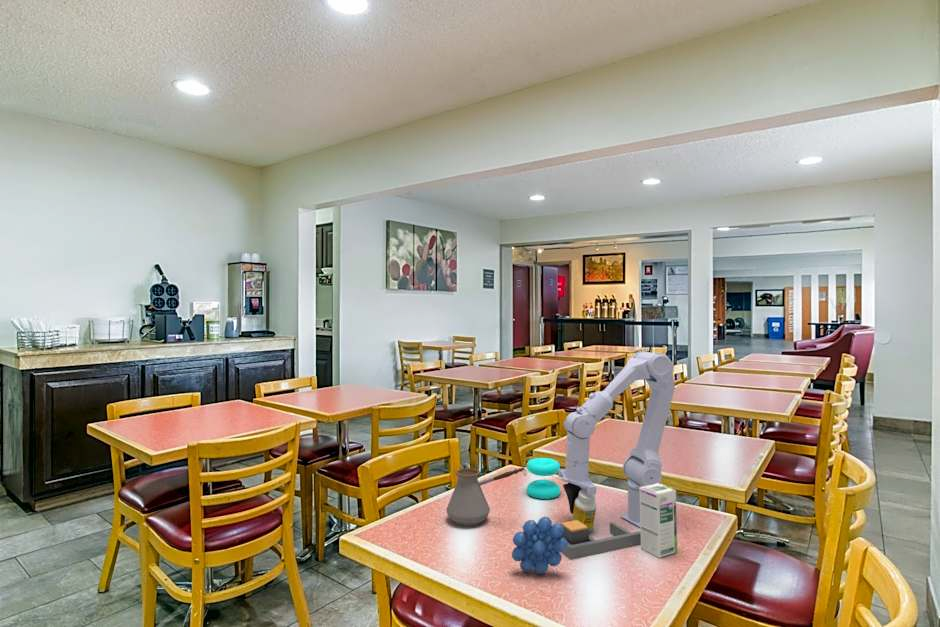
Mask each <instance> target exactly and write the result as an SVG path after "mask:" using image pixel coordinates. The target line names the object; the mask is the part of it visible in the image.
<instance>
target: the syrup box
mask: <svg viewBox="0 0 940 627" xmlns="http://www.w3.org/2000/svg"><path fill="white" fill-rule="evenodd" d="M639 489H640V527H639V528H640V530H639V531H640V533H641V544H640V548H641V549H642V550H643V551H644V552H647V553H648V554H651V555H653V557H656V558H658V559H661V558H662V557H666V556H669V555H673V554H677V553H678V530H677V529H678V528H677V527H678V526H677V525H678V524H677V521H678V520H677V490H676V489H675V488H673V487H671V486H668V485H665V484H663V483H660V484H658V483H656V484H653V485H648V486H644V487H640V488H639Z"/></svg>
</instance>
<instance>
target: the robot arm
mask: <svg viewBox="0 0 940 627" xmlns="http://www.w3.org/2000/svg"><path fill="white" fill-rule="evenodd" d="M674 369H675V364H674V363H673V361H672V360H671V359H670V358H669V356H667V355H666V354H665V353H661V352H659V353H656V352H651V351H646V350H640V351H637V352H636V353H635V354H634V355H633V356H632V357H631V358H629V359H628V361H627V362H626V364H625V366H624V367H623V368H622V369H621V371H620V372H619V373H617V374H616V376H615V377H614V378H613V379H612V381H610V383H609V384H608V385H607V386H606V387H605V388H604V389H603V390H601V391H599V390H598V391H595V392H591V393H590V394H589V395H588V399H587V400H585V402H583V403H582V404H581V405H580V406H578V407H577V408H576V409H575V410H576V411H574V412H573V411H572V412H570V413H569V414H568V415H567V416H566V417H565V420H564V421H563V427H564V429H565V431H566V452H565V454H566V455H565V468H560V469H559V470H558V472H557V476H558V477H559V478H561V481H562V482H564V484H563V485H562V486H563V489H564V491H565V494H566V496H567V500H568V504H569V513H570V514H571V515H573V511H574V503H575V499H576V498H577V497H578V495H579V491H580V490H581V489H583V490H585V491H586V492H587V494H589V495H593V494H595V495H597V485H595V484H594V483H593V481H591V479H590V478H589V463H590V444H591V443H590V439H591V438H590V436H592V435H593V434H594V432H595V430H596V429H595V428H596V425H597V424H598V423H599V422H600V421H601V420H602V419H603V417H605V416H606V415H607V414H608V412H610V411H611V410H612V409H613V408H614V407H613V406H614V400H615V399H616V398H618V397H619V396H620V395H621V394H622V393H623V392H624V391H625V390H627V388H629V387H630V386H631V385H632V384H633V383H634V382H636V381H642V380H645V381H646V383H647V385H648V386H649V387H650V389H651V390H650V395H649V397H648V402H647V406H646V410H645V413H644V417H643V421H642V425H641V429H640V432H639V436H638V440H637V444H636V446H635V447H634V448H633V449H631V450H630V451H629V454H628V457H627V458H626V459H625V461H623V462H624V463H623V465H622V472H623V475H624V476H625V477H626V478H627V480H626V481H627V513H624V514H623V513H622V514H620V517H621V518H623V519H624V520H626V521H628V522H630V523H632V524H633V525H635V526H636V527H638V528H640V489H639V488H640V487H644V486H648V485H653V484H656V483H658V484H662V478H663V475H662V466H663V462H662V460H661V457H660V454H659V451H660V448H661V443H662V439H663V436H664V432H665V427H666V425H667V424H666V423H667V419H668V416H669V412H670V408H671V404H672V400H673V397H674V393H675V390H676V389H675V388H676V384H675V380H674V379H675V378H674Z"/></svg>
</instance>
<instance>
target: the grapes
mask: <svg viewBox="0 0 940 627" xmlns="http://www.w3.org/2000/svg"><path fill="white" fill-rule="evenodd" d="M552 522H553V521H552V520H551V518H550V517H548V516H543V517H540V518H539V519H538V521H535V520H533V519H528V520H527V521H525V522H524V524H523V526H522V531H518V532H515V533H514V535H513V537H512V542H513V544H514V545H515V547H514V548H513V550H512V552H511V558H512V559H513V560H514V562H515V561H516V562H520V563H519V568H520V569H521V571H522V572H523V573H530V572H531V571H532V570H534V571H535V573H536V574H538V575H543V574H545V573H546V572H547V571H548V569H549V566H551V567H557V566H558V565H560V564H561V561H562V557H563V556H562V554H561V553H562V552H563V551H565V550H566V548H567V545H568V542H567V540H566V539H565V538H564V537H561V536H562V534H563V532H564V528H563V526H562V525H561V523H558V522H557V523H554V524H553V523H552Z"/></svg>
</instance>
